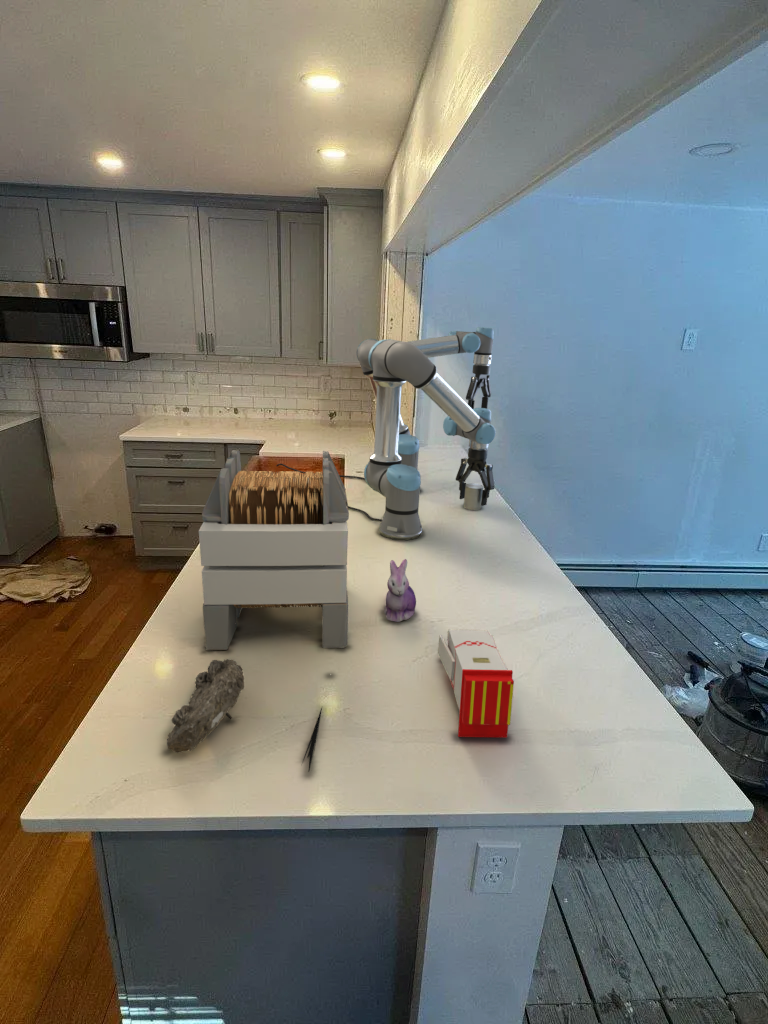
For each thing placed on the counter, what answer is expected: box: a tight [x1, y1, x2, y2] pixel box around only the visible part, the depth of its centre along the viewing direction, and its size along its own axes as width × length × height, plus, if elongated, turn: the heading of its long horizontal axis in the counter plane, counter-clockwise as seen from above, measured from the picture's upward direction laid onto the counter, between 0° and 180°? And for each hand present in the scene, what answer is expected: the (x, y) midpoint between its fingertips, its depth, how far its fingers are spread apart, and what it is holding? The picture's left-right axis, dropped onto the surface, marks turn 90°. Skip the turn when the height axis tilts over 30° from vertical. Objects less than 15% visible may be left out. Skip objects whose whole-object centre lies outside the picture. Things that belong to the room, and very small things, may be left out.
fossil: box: [166, 658, 245, 754], centre depth 106 cm, size 22×10×15 cm
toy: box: [437, 628, 515, 738], centre depth 117 cm, size 12×13×30 cm
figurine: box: [384, 558, 417, 623], centre depth 145 cm, size 9×10×15 cm
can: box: [463, 482, 484, 511], centre depth 229 cm, size 7×7×9 cm
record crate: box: [198, 449, 350, 651], centre depth 138 cm, size 34×33×41 cm
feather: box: [301, 673, 332, 771], centre depth 108 cm, size 2×28×2 cm
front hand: (472, 501), depth 230 cm, fingers open, 10 cm apart
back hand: (477, 413), depth 254 cm, fingers open, 13 cm apart
